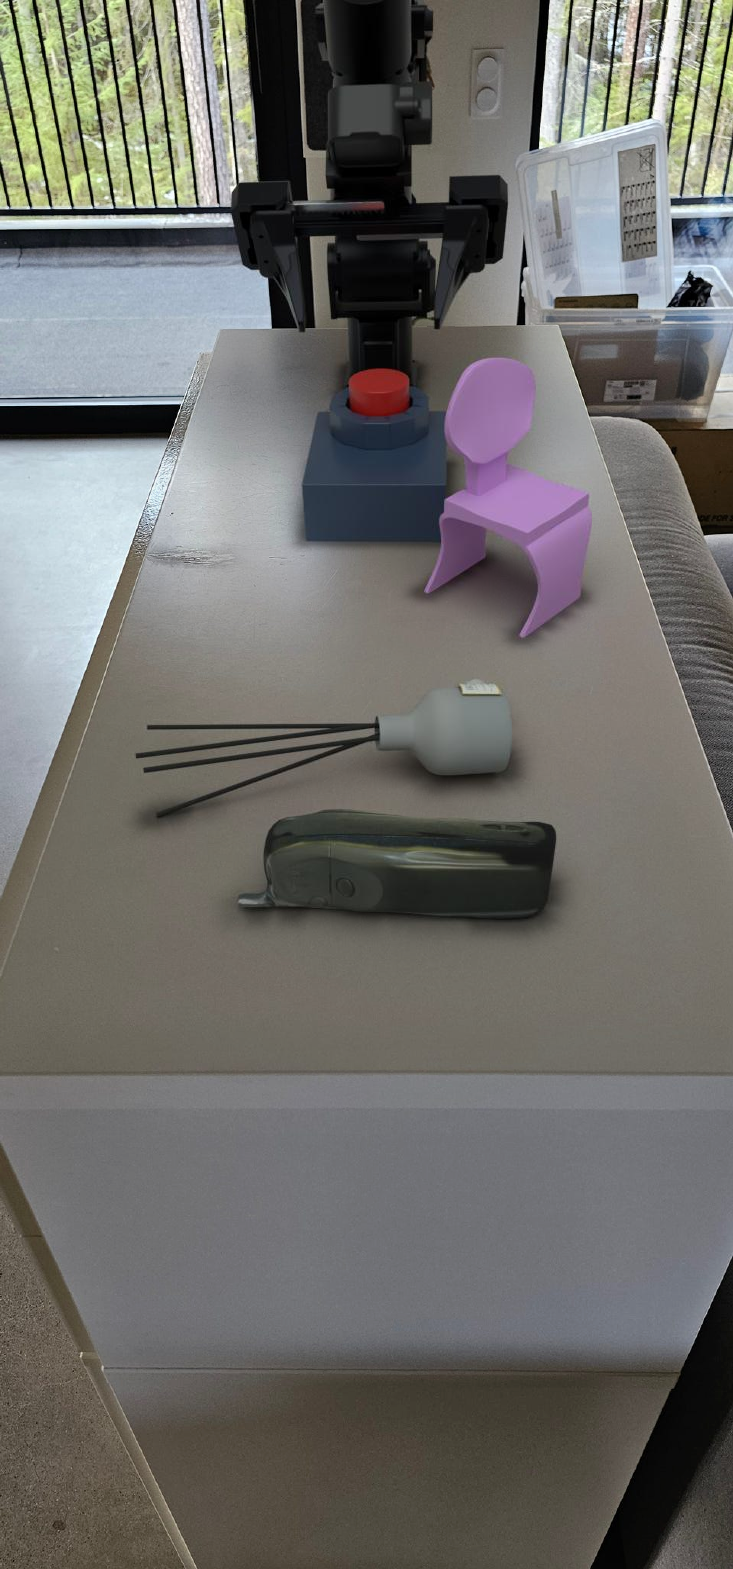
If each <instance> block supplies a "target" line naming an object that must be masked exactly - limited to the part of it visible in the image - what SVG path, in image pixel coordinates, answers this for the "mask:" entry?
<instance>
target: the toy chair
mask: <svg viewBox="0 0 733 1569" xmlns="http://www.w3.org/2000/svg"><path fill="white" fill-rule="evenodd" d="M535 398H536V378H535V374H534V373H533V371H532V369H531V368H530V367H529V366H528V365H527V364H525V363H522V362H521V361H518V360H516V359H512V358H506V357H488V358H482V359H479V360H477V361H474V362H473V363H470V364H469V365H468V366H467V367H466V368H465V370H463V373H462V374H461V375H460V377H459V379H458V381H457V383H456V384H455V388H454V390H453V392H452V395H451V397H450V400H449V401H448V402H449V403H448V405H447V409H446V411H447V412H446V418H445V427H444V432H445V438H446V441H447V445H448V447H449V448H450V449H451V450H452V451H454V452H455V453H456V454H457V455H459V456H460V457H462V458H463V459H464V470H465V471H464V472H465V473H464V474H465V484H466V486H465V488H463V489H461V490H458V491H457V492H455V493H454V494H452V495H450V496H448V497H446V499H445V500H444V513H443V514H441V516H440V518H439V525H440V532H441V542H440V550H439V554H438V557H437V561H436V563H435V566H434V569H433V571H432V573H431V575H430V577H429V579H428V581H427V584H426V586H425V587H424V591H423V592H424V593H425V594H427V595H429V594H430V593H432V592H433V591H435V590H436V589H439V588H440V587H442V586H443V585H445V584H446V583H448V582H450V581H451V580H452V579H454V578H456V577H457V576H458V575H460V574H462V573H463V572H465V571H466V570H468V569H469V568H471V567H473V566H474V565H475V564H478V563H479V562H480V561H482V560H483V559H485V558H486V557H487V549H486V536H487V535H486V534H487V531H488V530H489V531H491V532H493V533H495V534H497V535H499V536H501V537H502V538H504V539H506V540H507V541H510V542H512V543H514V544H516V545H518V546H519V547H520V548H521V549H522V550H523V551H524V552H525V553H526V556H527V558H528V560H529V562H530V564H531V566H532V569H533V571H534V574H535V576H536V582H537V594H536V598H535V602H534V603H533V606H532V609H531V610H530V614H529V616H528V617H527V620H526V621H525V623H524V626H523V627H522V629H521V631H520V633H519V634H518V636H519V638H522V639H524V638H526V637H527V636H529V635H530V634H532V632H534V631H535V630H537V629H538V628H540V627H541V626H542V625H544V624H545V623H547V622H548V621H549V620H551V619H552V618H554V617H555V616H556V615H557V614H559V613H560V612H562V611H563V610H565V609H566V608H567V607H568V606H571V604H572V603H574V602H575V601H577V600H578V599H580V598H581V596H582V595H581V593H582V592H581V591H582V581H583V572H584V566H585V561H586V556H587V551H588V547H589V541H590V536H591V532H592V526H593V515H592V512H591V509H590V508H589V499H590V493H589V492H588V491H587V492H586V491H584V490H581V489H578V488H575V487H573V486H570V485H566V484H563V483H558V482H555V481H552V480H550V479H547V478H544V477H541V476H539V475H537V474H534V473H533V472H530V471H529V470H526V469H524V468H521V467H519V466H515V465H513V464H510V463H507V462H508V461H507V460H508V456H509V451H511V450H512V449H513V448H515V447H516V446H517V445H518V444H519V443H520V441H522V439H523V438H525V436H526V435H527V434H528V433H529V431H530V430H531V426H532V418H533V414H534V407H535Z"/></svg>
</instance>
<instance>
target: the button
mask: <svg viewBox="0 0 733 1569" xmlns="http://www.w3.org/2000/svg"><path fill="white" fill-rule="evenodd" d="M349 396H350V409H351V411H352V412H353V413H356V414H360V415H364V416H368V417H387V416H391V415H395V414H399V413H403V412H405V411H406V410H408V409H409V378H408V376H407V375H406V374H404V373H402V372H400V371H397V370H392V369H370V370H365V371H361V372H359V373H356V374H354V375H353V376H352V377H351V378H350V380H349Z"/></svg>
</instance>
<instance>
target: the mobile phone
mask: <svg viewBox="0 0 733 1569" xmlns="http://www.w3.org/2000/svg"><path fill="white" fill-rule="evenodd" d="M264 841H265V842H264V847H263V855H262V857H263V870H264V875H265V878H266V882H267V887H266V889H265V890H264V891H262V892H255V893H252V892H250V893H245V892H244V893H240V894H239V895H238V897H237V905H238V907H240V908H274V907H275V908H277V907H278V908H279V907H280V908H282V907H283V908H291V907H292V908H297V907H298V908H301V907H304V908H311V909H327V910H329V909H330V910H331V909H332V910H333V909H337V910H341V909H342V910H345V911H346V910H347V911H353V912H366V913H367V912H370V913H404V914H405V913H406V914H408V913H409V914H416V915H417V914H418V915H426V916H435V917H436V916H437V917H455V918H456V917H458V918H476V919H480V918H481V919H495V920H497V919H498V920H514V919H523V918H528V917H532V916H533V915H536V914H538V913H539V912H541V911H542V910H543V909H544V908H545V906H546V905H547V904H548V901H549V895H550V888H551V882H552V874H553V868H554V862H555V854H556V846H557V830H556V828H554V826H553V824H550V823H547V822H541V821H499V820H498V821H497V820H495V821H494V820H476V819H468V818H467V819H466V818H445V817H444V818H442V817H441V818H440V817H438V818H437V817H411V816H403V815H397V814H390V813H389V814H388V813H379V812H371V811H366V810H361V809H342V808H337V809H335V808H334V809H333V808H331V809H323V810H320V811H316V812H312V813H308V814H304V815H303V814H302V815H295V816H294V815H293V816H287V817H283V818H281V819H278V820H277V821H276V822H275V823H273V824H272V825H271V826H270V828H269V829H268V832H267V835H266V837H265V840H264Z"/></svg>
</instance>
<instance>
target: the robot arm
mask: <svg viewBox="0 0 733 1569" xmlns="http://www.w3.org/2000/svg"><path fill="white" fill-rule="evenodd" d="M425 2H426V0H322V2H321V3H319V4H318V5H316V7H315V8H314V17H315V18H314V20H315V28H316V29H315V30H316V39H317V40H316V41H317V45H318V48H319V53H320V57H321V60H322V61H323V62H325V61H326V62H327V61H328V64H329V67H330V68H331V75H332V76H333V80H332V88H330V89H328V92H327V135H328V136H327V142H326V144H325V173H324V174H325V185H326V189H327V190H329V199H321V200H320V199H318V200H317V199H316V200H315V199H313V200H293V195H292V188H291V181H290V180H276V181H275V180H273V181H272V180H271V181H269V180H268V181H241V182H238V183H237V184H236V186H234V188H233V190H232V191H231V197H230V198H231V200H230V201H231V202H230V215H231V219H232V225H233V228H234V232H235V238H236V242H237V246H238V251H239V256H240V260H241V264H242V266H243V267H245V268H247V269H249V270H250V271H259V272H258V273H259V275H260V276H261V277H263V278H266V279H274V280H275V282H276V283H277V285H278V287H279V288H280V291H282V293H283V295H284V296H285V298H286V300H287V302H288V305H289V309H290V310H291V314H292V316H293V319H294V321H295V322H294V323H295V325H296V327H297V330H298V332H299V333H301V334H302V333H306V328H307V327H306V326H307V313H306V303H305V296H304V295H305V294H304V286H303V279H302V270H301V264H300V257H299V252H298V251H299V250H298V249H299V245H298V238H304V237H305V238H308V237H309V238H311V237H334V242H327V244H326V271H327V273H326V274H327V285H328V299H329V311H330V320H338V319H347V337H348V360H347V363H346V368H345V374H344V379H343V385H342V390H344V389H345V388H348V387H349V380H350V378H351V377H352V376H353V375H354V374H356V373H359V372H361V371H365V370H370V369H392V370H397V371H400V372H402V373H404V374H406V375H407V376H408V378H409V386H412V387H416V388H417V380H418V367H419V366H418V364H419V363H418V360H417V359H414V358H413V318H421V319H423V318H424V319H426V318H428V314H429V313H431V312H433V329H434V330H441V329H442V326H443V324H444V321H445V319H446V317H447V315H448V312H449V310H450V308H451V306H452V304H453V301H454V300H455V298H456V296H457V294H458V292H459V291H460V289H461V287H462V286H463V285H464V284H465V282H466V280H467V279H468V278H469V276H470V275H472V274H479V273H481V272H483V271H484V270H485V268H486V265H495V264H497V263H499V262H500V261H501V260H503V259H504V250H505V241H506V240H505V239H506V230H507V219H508V210H509V186H508V185H509V184H508V183H507V181H505V179H504V178H503V177H502V175H500V174H479V175H478V174H475V175H473V174H472V175H449V180H448V201H439V202H417V198H416V197H415V195H414V193H413V192H412V186H413V148H412V147H413V146H427V145H428V146H430V145H431V144H433V81H431V80H427V71H428V70H427V68H428V67H427V66H428V63H427V62H428V61H427V60H428V45H429V43H430V42H431V41H432V40H433V36H434V10H430V9H429V8H428V4H426V3H425ZM430 239H433V240H435V239H441V248H440V254H439V262H438V269H437V259H436V258H435V257H434V256H433V254H431V249H429V243H428V242H429V241H428V240H430Z"/></svg>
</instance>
